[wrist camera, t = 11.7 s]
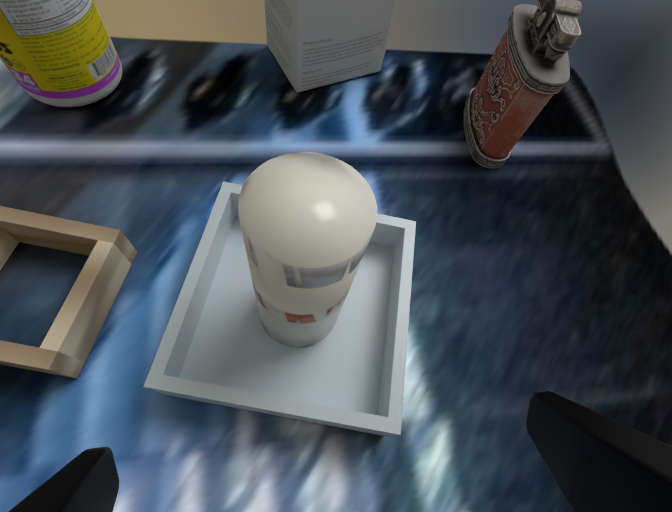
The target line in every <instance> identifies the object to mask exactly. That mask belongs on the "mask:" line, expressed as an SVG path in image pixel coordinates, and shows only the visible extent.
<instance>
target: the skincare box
mask: <svg viewBox="0 0 672 512" xmlns="http://www.w3.org/2000/svg"><path fill="white" fill-rule="evenodd" d="M396 5H397V0H265V12H266V28H267V45H268V47H269V49H270V50H271V52H272V54H273V55H274V57H275V58H276V60H277V62H278V63H279V65H280V67H281V68H282V70H283V71H284V73H285V75H286V76H287V78H288V80H289V81H290V83H291V85H292V86H293V88H294V90H295V91H296V92H297V93H298V92H302V91H306V90H309V89H313V88H317V87H321V86H325V85H329V84H332V83H336V82H340V81H344V80H348V79H352V78H356V77H360V76H364V75H367V74H371V73H375V72H379V71H380V70H381V66H382V62H383V58H384V54H385V50H386V46H387V41H388V37H389V33H390V29H391V25H392V20H393V17H394V13H395V9H396Z"/></svg>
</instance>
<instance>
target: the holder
mask: <svg viewBox="0 0 672 512" xmlns="http://www.w3.org/2000/svg"><path fill="white" fill-rule="evenodd" d="M19 242H22V243H27V244H32V245H37V246H42V247H47V248H52V249H57V250H62V251H67V252H72V253H78V254H83V255H88V256H89V258H88V260H87V261H86V263H85V265H84V267H83V269H82V271H81V272H80V274H79V276H78V278H77V280H76V282H75V284H74V285H73V287H72V289H71V291H70V293H69V295H68V296H67V298H66V300H65V302H64V304H63V306H62V308H61V309H60V311H59V313H58V315H57V317H56V319H55V320H54V322H53V324H52V326H51V328H50V330H49V331H48V333H47V335H46V337H45V339H44V341H43V343H42V344H41V346H40V348H38V347H32V346H27V345H22V344H16V343H11V342H6V341H1V340H0V364H1V365H7V366H12V367H18V368H23V369H28V370H34V371H39V372H44V373H50V374H55V375H60V376H66V377H71V378H76V379H77V378H78V376H79V374H80V372H81V370H82V368H83V365H84V363H85V361H86V359H87V357H88V355H89V353H90V351H91V349H92V347H93V344H94V342H95V340H96V338H97V336H98V334H99V332H100V330H101V328H102V326H103V323H104V321H105V319H106V317H107V315H108V313H109V311H110V309H111V307H112V305H113V302H114V300H115V298H116V296H117V294H118V292H119V290H120V288H121V286H122V283H123V281H124V279H125V277H126V275H127V273H128V271H129V269H130V267H131V265H132V262H133V260H134V258H135V256H136V254H137V251H136V250H135V248H134V247H133V246H132V245H131V243H130V242H129V241H128V239H127V238H126V237H125V235H124V234H123V233H122V232H121V230H117V229H112V228H107V227H102V226H97V225H92V224H87V223H82V222H77V221H72V220H67V219H62V218H57V217H52V216H47V215H42V214H37V213H32V212H27V211H22V210H17V209H13V208H8V207H3V206H0V270H1V269H2V267H3V266H4V264H5V263H6V261H7V260H8V258H9V257H10V255H11V254H12V252H13V251H14V249H15V248H16V246H17V245H18V243H19Z"/></svg>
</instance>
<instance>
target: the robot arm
mask: <svg viewBox="0 0 672 512" xmlns="http://www.w3.org/2000/svg"><path fill="white" fill-rule="evenodd" d="M526 428H527V431H528V434H529V436H530V437H531V439H532V441H533V443H534V444H535V446H536V448H537V450H538V452H539V453H540V455H541V457H542V459H543V460H544V462H545V464H546V466H547V467H548V469H549V471H550V473H551V474H552V476H553V478H554V480H555V481H556V483H557V485H558V487H559V489H560V490H561V492H562V494H563V495H564V497H565V499H566V500H567V502H568V503H569V505H570V506H571V508H572V509H573V511H574V512H672V446H669V445H667V444H665V443H663V442H661V441H658V440H656V439H654V438H652V437H650V436H647V435H645V434H643V433H641V432H639V431H636V430H634V429H632V428H630V427H628V426H625V425H623V424H621V423H619V422H617V421H614V420H612V419H610V418H608V417H606V416H603V415H601V414H599V413H597V412H595V411H592V410H590V409H588V408H586V407H584V406H581V405H579V404H577V403H575V402H573V401H570V400H568V399H566V398H564V397H562V396H559V395H557V394H555V393H553V392H549V391H545V392H537V393H533V394H532V395H531V396H530V399H529V404H528V410H527V416H526ZM118 489H119V477H118V473H117V469H116V465H115V461H114V457H113V453H112V451H111V449H110V448H109V447H100V448H92V449H87V450H85V451H83V452H82V453H81V454H79V455H78V456H77V457H76V458H74V459H73V460H72V461H71V462H69V463H68V464H67V465H66V466H64V467H63V468H62V469H61V470H60V471H58V472H57V473H56V474H55V475H53V476H52V477H51V478H50V479H48V480H47V481H46V482H45V483H43V484H42V485H41V486H40V487H38V488H37V489H36V490H35V491H34V492H32V493H31V494H30V495H29V496H27V497H26V498H25V499H24V500H22V501H21V502H20V503H19V504H17V505H16V506H15V507H14V508H12V509H11V510H10V511H9V512H112V511H113V508H114V504H115V501H116V497H117V494H118Z"/></svg>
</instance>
